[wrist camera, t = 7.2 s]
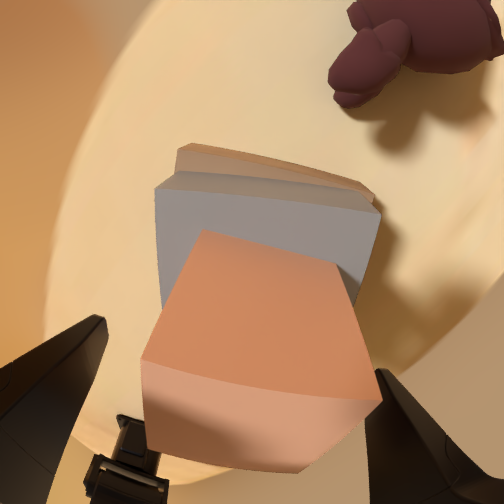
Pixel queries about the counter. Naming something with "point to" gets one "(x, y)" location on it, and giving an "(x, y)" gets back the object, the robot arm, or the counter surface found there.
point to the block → (255, 360)
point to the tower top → (264, 221)
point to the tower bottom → (258, 167)
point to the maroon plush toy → (412, 43)
